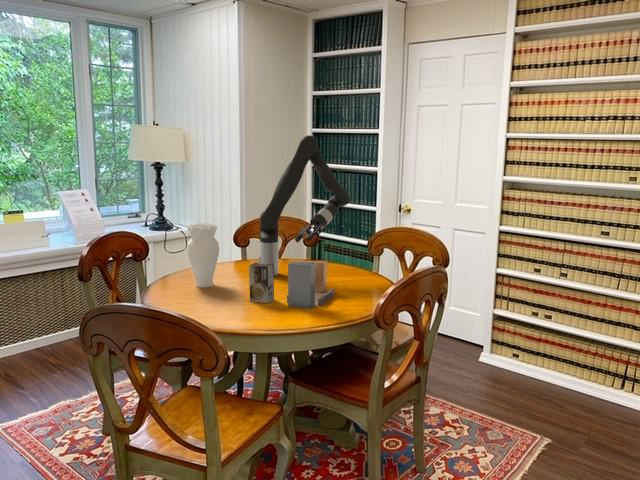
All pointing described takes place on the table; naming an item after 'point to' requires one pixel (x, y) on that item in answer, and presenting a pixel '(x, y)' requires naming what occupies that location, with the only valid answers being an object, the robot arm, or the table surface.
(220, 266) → the table surface
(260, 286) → the coffee box
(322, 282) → the copper bar
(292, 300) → the grey metal bracket
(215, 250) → the vase
